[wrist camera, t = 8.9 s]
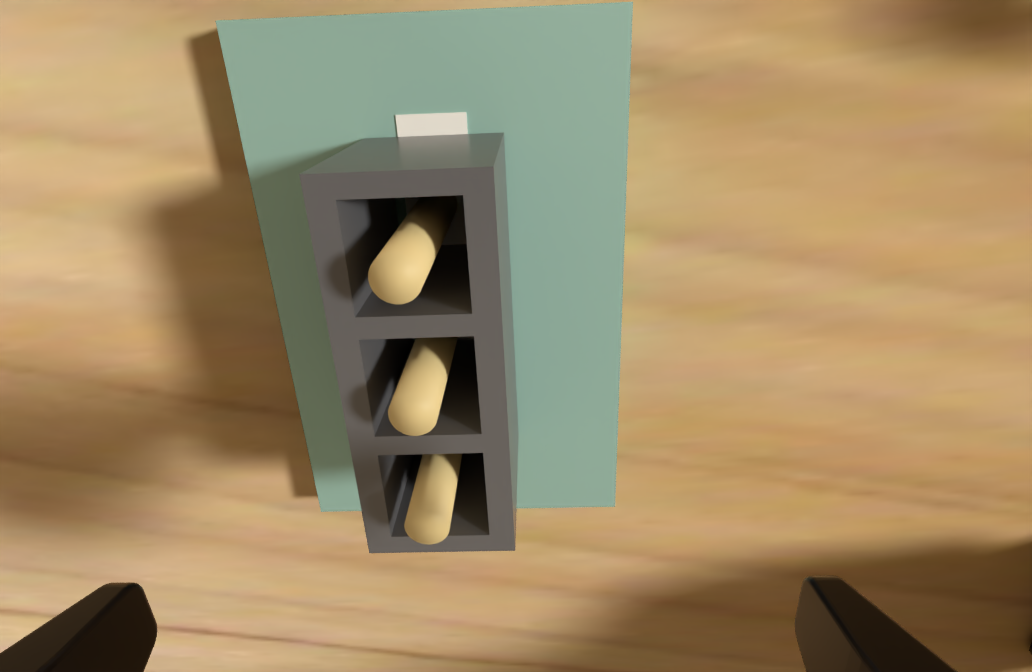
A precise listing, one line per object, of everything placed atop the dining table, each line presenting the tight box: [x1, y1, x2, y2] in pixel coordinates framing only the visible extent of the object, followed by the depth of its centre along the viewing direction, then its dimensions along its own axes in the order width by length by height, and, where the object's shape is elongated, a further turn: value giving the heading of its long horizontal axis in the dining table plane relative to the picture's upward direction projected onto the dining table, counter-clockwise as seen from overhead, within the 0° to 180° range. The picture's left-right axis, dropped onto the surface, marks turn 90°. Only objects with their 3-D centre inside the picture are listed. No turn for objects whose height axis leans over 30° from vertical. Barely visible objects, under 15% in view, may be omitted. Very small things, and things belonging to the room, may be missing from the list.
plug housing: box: [299, 132, 519, 553], centre depth 16 cm, size 9×4×5 cm, turn 3°
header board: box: [216, 2, 633, 545], centre depth 16 cm, size 15×10×7 cm, turn 2°
